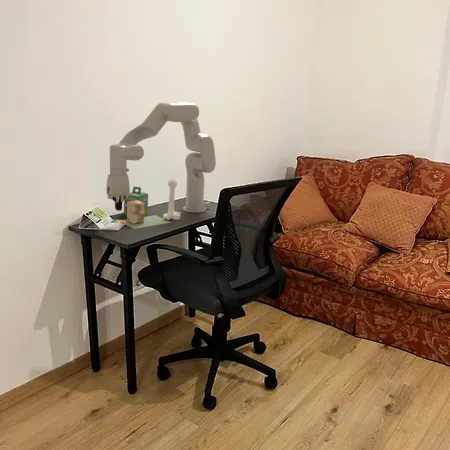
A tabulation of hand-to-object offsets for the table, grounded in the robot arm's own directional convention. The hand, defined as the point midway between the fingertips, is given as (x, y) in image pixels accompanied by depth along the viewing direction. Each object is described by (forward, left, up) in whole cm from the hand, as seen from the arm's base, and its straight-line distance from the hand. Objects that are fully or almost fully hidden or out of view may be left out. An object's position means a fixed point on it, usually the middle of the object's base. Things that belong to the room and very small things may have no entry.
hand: (118, 210), depth 224 cm
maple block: (-9, 0, -7) cm, 12 cm away
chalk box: (-16, -12, -8) cm, 22 cm away
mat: (-14, +1, -8) cm, 16 cm away
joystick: (-29, +3, -8) cm, 30 cm away
